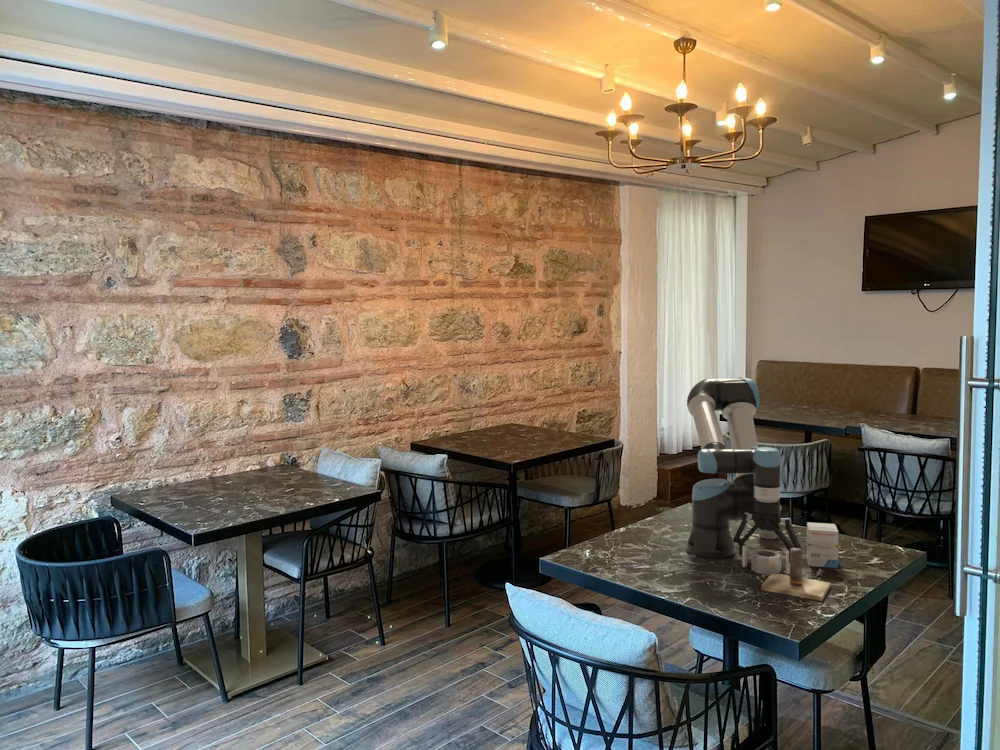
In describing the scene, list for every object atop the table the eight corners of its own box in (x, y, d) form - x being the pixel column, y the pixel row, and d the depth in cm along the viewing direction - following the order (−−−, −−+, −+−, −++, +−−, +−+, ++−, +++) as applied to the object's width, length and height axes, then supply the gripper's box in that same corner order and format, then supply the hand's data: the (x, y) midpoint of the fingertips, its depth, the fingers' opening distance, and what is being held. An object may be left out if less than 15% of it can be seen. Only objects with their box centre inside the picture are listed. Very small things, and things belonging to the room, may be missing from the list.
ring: (749, 571, 222) (749, 555, 222) (756, 563, 229) (756, 548, 229) (776, 576, 218) (776, 559, 217) (783, 568, 224) (783, 552, 224)
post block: (761, 589, 208) (761, 550, 207) (772, 576, 218) (772, 539, 217) (822, 601, 199) (822, 560, 198) (830, 586, 209) (831, 548, 208)
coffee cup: (785, 540, 252) (785, 505, 251) (759, 540, 252) (760, 506, 251) (776, 532, 260) (776, 499, 259) (751, 533, 260) (751, 499, 259)
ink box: (835, 559, 231) (836, 523, 230) (838, 568, 223) (839, 531, 222) (806, 557, 234) (806, 521, 233) (807, 566, 226) (808, 529, 225)
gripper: (722, 497, 225) (722, 566, 227) (806, 507, 212) (806, 580, 213) (729, 492, 231) (729, 559, 233) (812, 501, 218) (811, 572, 220)
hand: (766, 569), depth 223 cm, fingers open, 12 cm apart
